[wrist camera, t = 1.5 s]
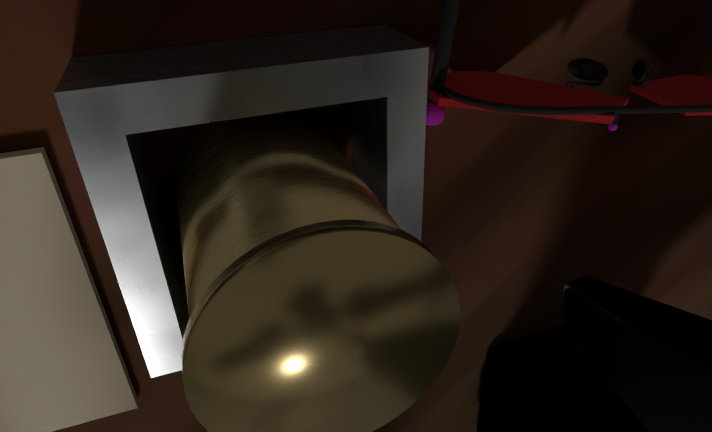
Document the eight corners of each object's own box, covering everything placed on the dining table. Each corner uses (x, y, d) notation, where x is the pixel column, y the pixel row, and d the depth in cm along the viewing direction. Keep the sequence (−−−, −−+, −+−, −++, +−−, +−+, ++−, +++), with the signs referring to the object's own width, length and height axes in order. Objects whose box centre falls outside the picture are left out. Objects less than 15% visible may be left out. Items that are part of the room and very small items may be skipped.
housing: (383, 24, 15) (428, 47, 13) (384, 257, 20) (418, 307, 17) (71, 57, 13) (53, 92, 11) (150, 311, 17) (151, 378, 15)
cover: (337, 81, 16) (471, 206, 9) (344, 231, 19) (452, 409, 12) (148, 106, 14) (149, 275, 8) (187, 265, 17) (213, 486, 11)
